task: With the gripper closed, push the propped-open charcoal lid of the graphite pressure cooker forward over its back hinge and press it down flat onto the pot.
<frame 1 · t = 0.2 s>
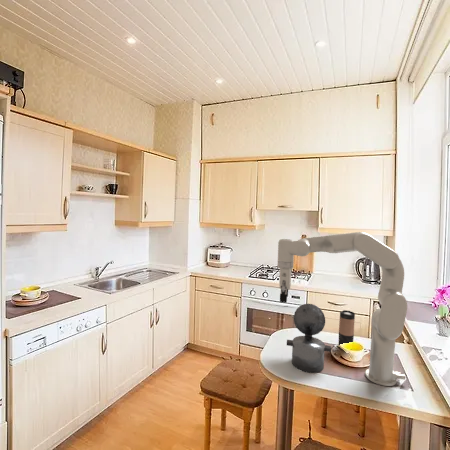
hand: (283, 299, 146), 31 cm above the table, tool pointing down, fingers open, 9 cm apart
travel mug: (345, 348, 163), on the table
lid: (309, 319, 154), point 18 cm above the table, hinge at 100.0°
cooker pot: (307, 364, 145), on the table
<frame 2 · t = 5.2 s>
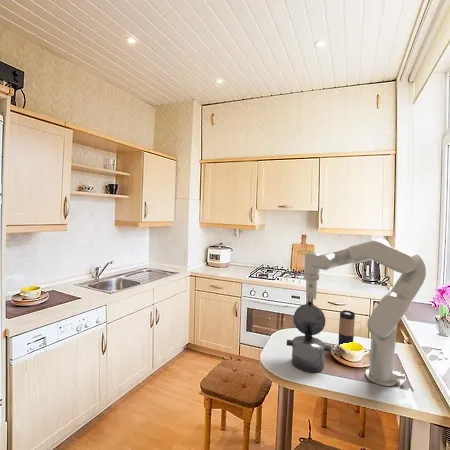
hand: (309, 310, 157), 22 cm above the table, tool pointing down, fingers closed
lid: (309, 319, 154), point 19 cm above the table, hinge at 94.3°, touching gripper
everything else where it was.
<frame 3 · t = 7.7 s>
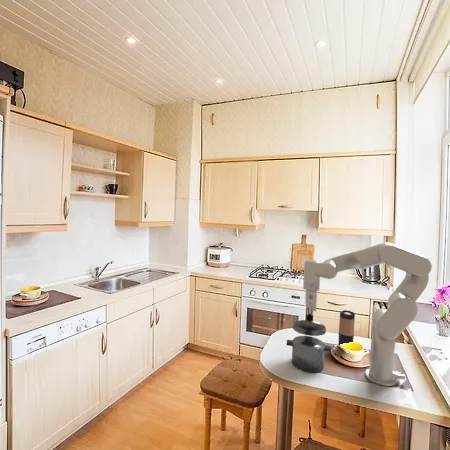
hand: (309, 322, 145), 20 cm above the table, tool pointing down, fingers closed
lid: (309, 327, 147), point 17 cm above the table, hinge at 42.3°, touching gripper
everything else where it was.
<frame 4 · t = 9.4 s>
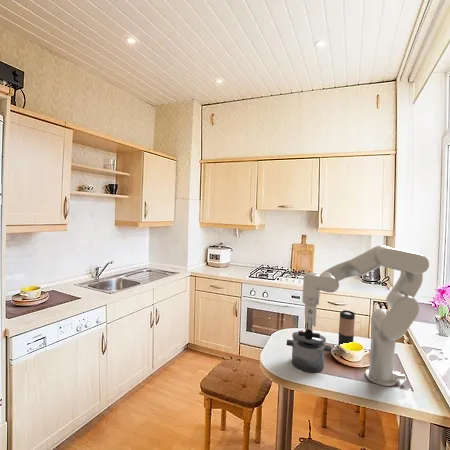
hand: (308, 337, 140), 15 cm above the table, tool pointing down, fingers closed
lid: (308, 335, 145), point 14 cm above the table, hinge at 10.6°, touching gripper
everything else where it was.
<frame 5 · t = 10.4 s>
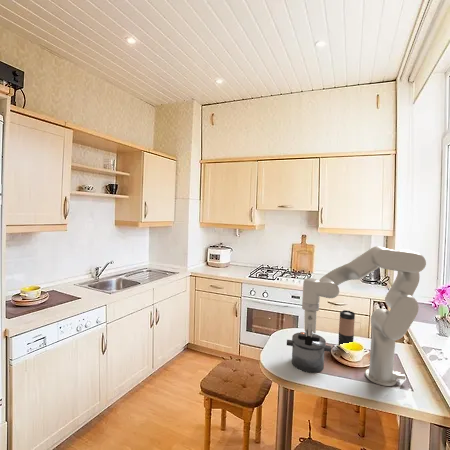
hand: (308, 344, 138), 13 cm above the table, tool pointing down, fingers closed
lid: (308, 338, 145), point 13 cm above the table, hinge at 0.6°, touching gripper
everything else where it was.
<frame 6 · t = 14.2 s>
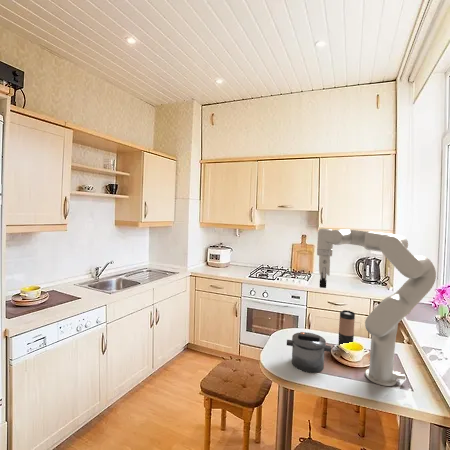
hand: (322, 287, 155), 35 cm above the table, tool pointing down, fingers closed
lid: (308, 338, 145), point 13 cm above the table, hinge at 0.6°
everything else where it was.
at the end: lid at +1° (first picture: +100°); travel mug moved 0.2 cm from its start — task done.
